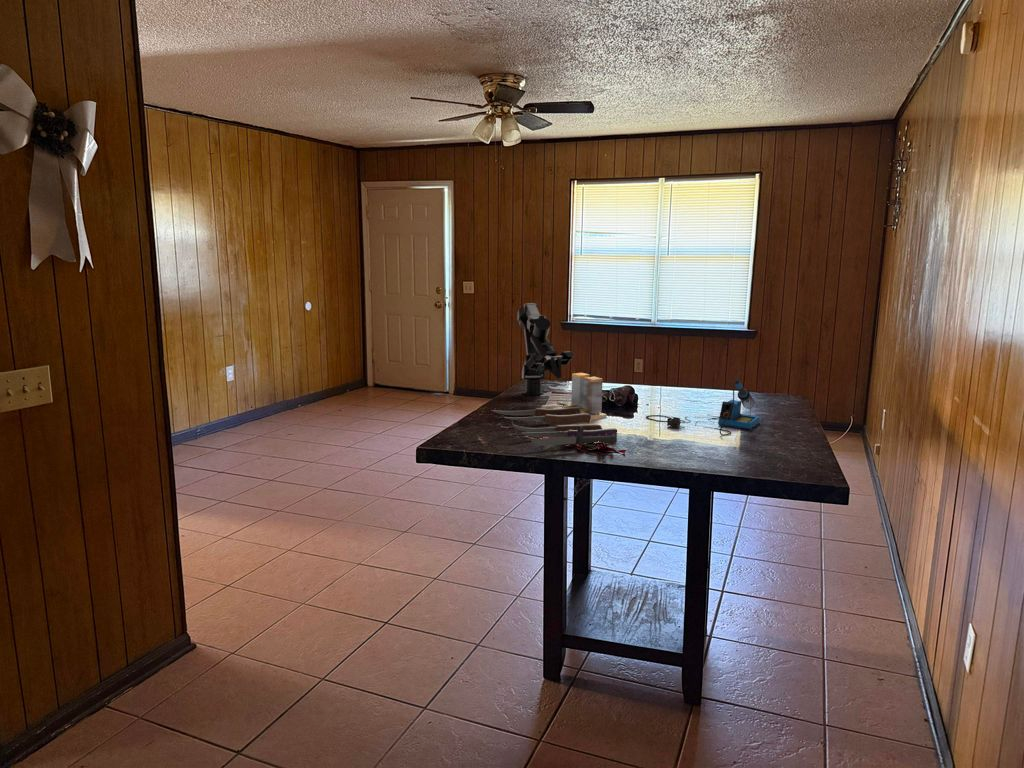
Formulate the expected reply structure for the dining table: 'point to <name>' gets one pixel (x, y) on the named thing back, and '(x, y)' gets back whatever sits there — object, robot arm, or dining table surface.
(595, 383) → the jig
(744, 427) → the soldering iron
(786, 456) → the dining table surface
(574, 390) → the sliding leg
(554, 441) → the knife set
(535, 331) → the robot arm
